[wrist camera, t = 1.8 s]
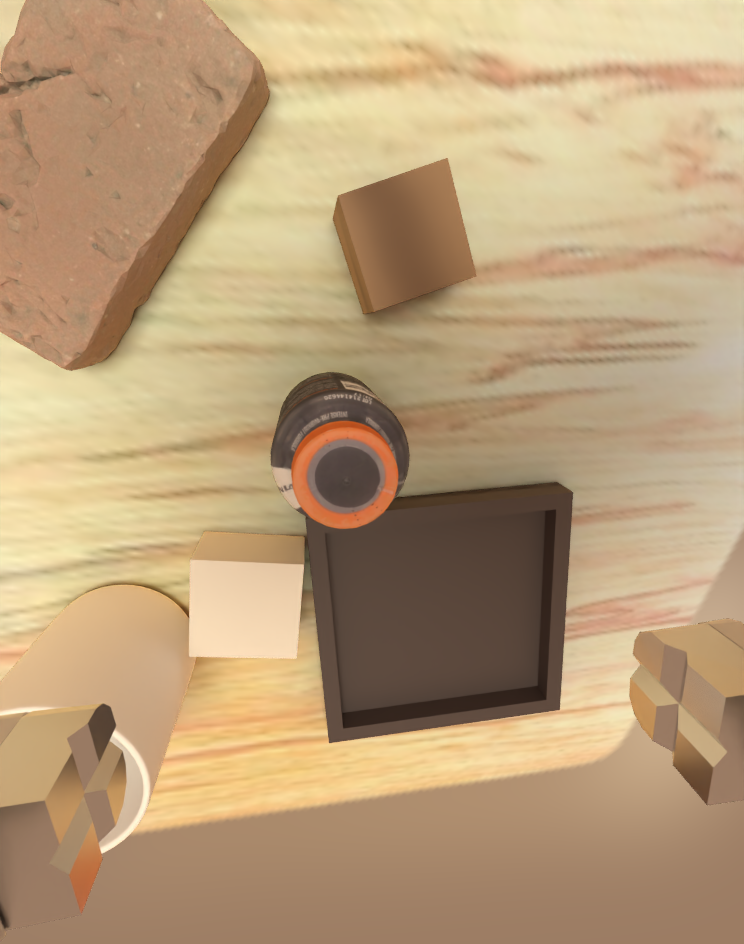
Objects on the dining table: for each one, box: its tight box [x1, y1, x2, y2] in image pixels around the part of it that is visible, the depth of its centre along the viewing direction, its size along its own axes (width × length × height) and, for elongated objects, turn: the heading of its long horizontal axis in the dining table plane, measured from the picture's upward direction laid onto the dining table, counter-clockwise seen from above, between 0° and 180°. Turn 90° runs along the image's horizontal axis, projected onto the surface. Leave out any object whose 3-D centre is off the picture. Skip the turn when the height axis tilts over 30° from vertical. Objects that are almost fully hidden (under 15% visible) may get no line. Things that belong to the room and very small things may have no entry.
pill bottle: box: [271, 372, 409, 529], centre depth 24 cm, size 6×6×11 cm
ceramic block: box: [189, 531, 305, 659], centre depth 30 cm, size 6×6×4 cm
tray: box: [306, 482, 573, 743], centre depth 32 cm, size 16×16×2 cm
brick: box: [0, 0, 269, 371], centre depth 23 cm, size 17×8×5 cm, turn 143°
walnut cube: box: [333, 158, 476, 314], centre depth 25 cm, size 5×5×5 cm
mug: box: [0, 585, 196, 854], centre depth 27 cm, size 9×12×11 cm
